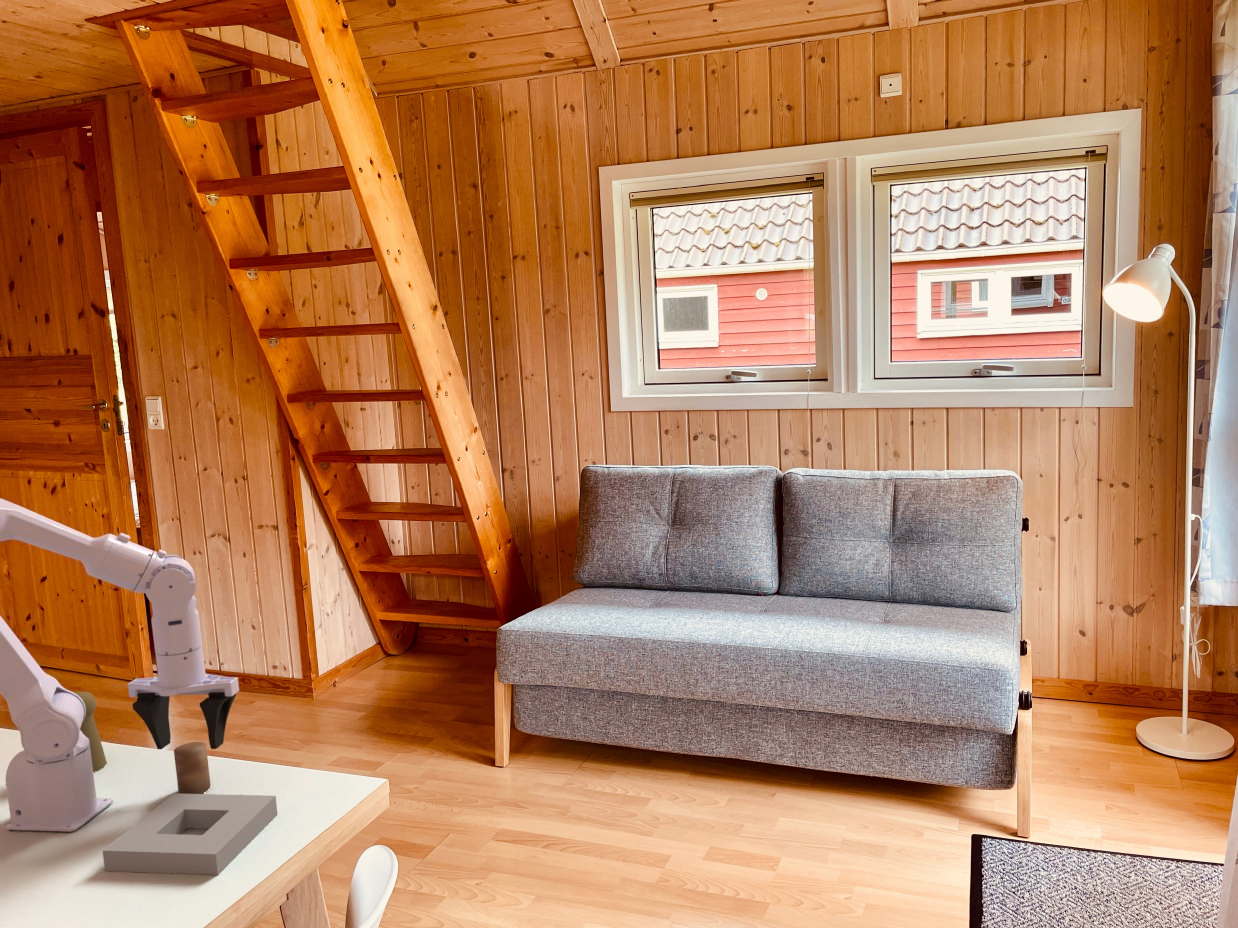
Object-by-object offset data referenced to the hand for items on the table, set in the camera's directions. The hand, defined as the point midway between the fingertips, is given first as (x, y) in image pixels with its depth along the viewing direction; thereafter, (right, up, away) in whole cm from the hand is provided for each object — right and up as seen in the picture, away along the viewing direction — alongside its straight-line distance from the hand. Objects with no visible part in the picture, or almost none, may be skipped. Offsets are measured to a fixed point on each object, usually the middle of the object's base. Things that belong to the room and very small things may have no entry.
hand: (190, 746), depth 132 cm
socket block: (+6, -8, -13) cm, 16 cm away
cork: (-20, -6, +10) cm, 23 cm away
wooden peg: (0, -6, +1) cm, 6 cm away
